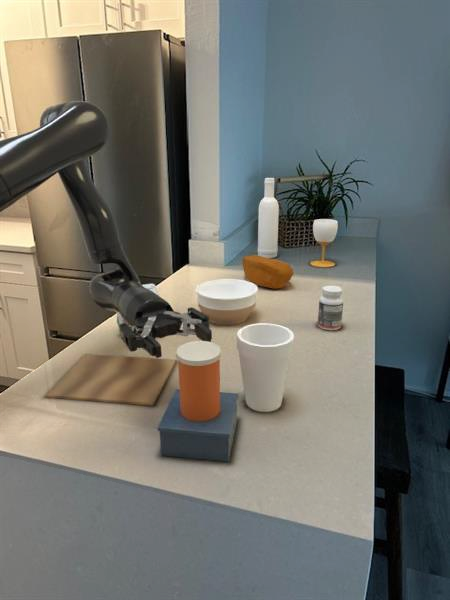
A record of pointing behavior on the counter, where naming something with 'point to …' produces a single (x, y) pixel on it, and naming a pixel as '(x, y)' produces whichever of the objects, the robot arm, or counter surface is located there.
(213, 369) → the tub
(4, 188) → the robot arm
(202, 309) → the bowl
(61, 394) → the cutting board
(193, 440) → the tin
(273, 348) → the foam cup
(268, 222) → the bottle
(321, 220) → the cup
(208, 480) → the counter surface
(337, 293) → the pill bottle
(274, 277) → the bread
